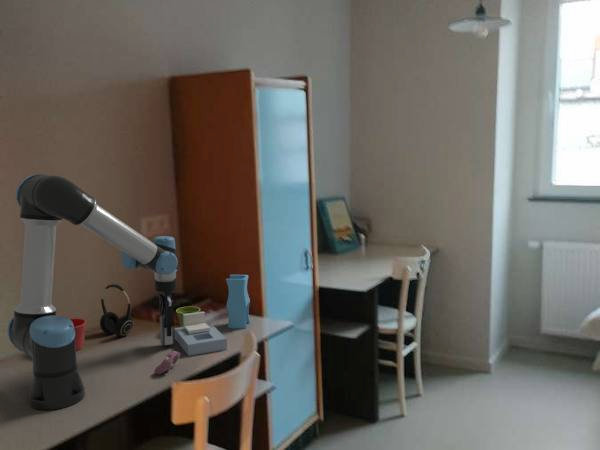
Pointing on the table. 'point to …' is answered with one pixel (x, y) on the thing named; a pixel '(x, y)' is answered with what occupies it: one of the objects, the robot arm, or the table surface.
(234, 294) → the vase
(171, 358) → the pink oblong lump
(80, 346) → the flower pot
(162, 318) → the plug
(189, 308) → the plant pot
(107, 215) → the robot arm
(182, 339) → the socket
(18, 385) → the table surface
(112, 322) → the headphones
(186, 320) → the cream stepped block
